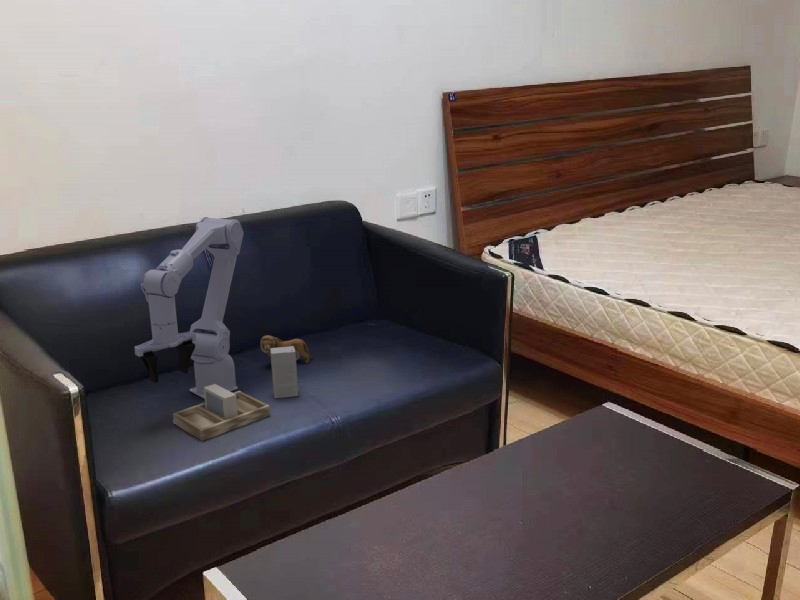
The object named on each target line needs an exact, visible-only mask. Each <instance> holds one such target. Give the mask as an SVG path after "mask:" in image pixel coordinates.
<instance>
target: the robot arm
mask: <svg viewBox="0 0 800 600" xmlns="http://www.w3.org/2000/svg"><path fill="white" fill-rule="evenodd" d="M244 233H245V232H244V230H243V227H242V224H241V222H240V221H239V220H238V219H236V218H233V219H227V218H217V217H216V218H215V217H208V216H205V217H202V218H201V219H200V221H198V222H197V223H196V225H195V232H194V233H193V234H192V236H191V237H190V239H188V241H187V242H186V244H184V245H183V247H182V249H172V250H171V251H170V253H169V255H168V256H167V257H166V258H165V259H164V260H163V261H162V262H161V263H159V265H158V266H157V267H156V268H155V269H150V270H147V271H146V272H145V273H144V274H143V276H142V277H141V284H140V289H141V291H142V292H143V294H144V296H145V301H146V302H147V303H148V311H149V317H150V328H151V335H152V339H151V340H148V341H145V342H144V343H141V344H139V345H135V346H133V347H134V355H135V356H136V357H138V358H139V359H140V360H141V361H142V363H143V365H144V367H145V369H146V371H147V373H148V376H149V378H150V381H151V382H153V383H154V384H156V383H159V374H158V360H159V357H158V356H156V355H155V353H154V352H157V351H161V350H164V349H168V348H174V347H176V350H177V355H178V362H179V363H178V364H179V370H180V372H181V373H183V374H185V375H186V374H188V373H189V366H190V361H191V360H193V366H194V369H193V370H194V379H195V387H192V388H189V392H191V393H192V394H195V395H196V396H198V397H200V398H202V399H203V400H205V397H204V387H207V386H210V385H213V384H216V385H218V386H220V387H222V388H224V389H226V390H228V391H230V392H233V391H235V390H236V391H237V390H238V386H237V383H236V369H235V368H236V367H235V362H234V360H233V358H232V356H231V355H230V354H229V352H230V348H231V344H230V338H231V337H230V335H231V331H230V329H229V328H228V327H227V326H226V325H225V323H224V316H225V313H226V308H227V303H228V299H229V296H230V295H229V294H230V288H231V285H232V280H233V276H234V271H235V266H236V263H237V256H238V255H239V254H240V252H241V247H242V244H243V238H244ZM205 250H207V251H208V253H211V254H212V255H213V257H214V259H213V263H212V269H211V273H210V276H209V277H210V278H209V281H208V282H209V283H208V287H207V291H206V295H205V299H204V305H203V308H202V314H201V317H200V318H199V319H198V320H197V321H195V322H193V323H192V324H191V325H190V329H189V331H186V332H181V333H180V332H179V329H178V328H179V327H178V318H177V308H176V297H175V295H176V294H177V293H178V291H179V288H180V285H181V283H182V279H184V277H185V276H186V275H187V274H188V273H189V272H190V271H191V270H192V268H193V267H194V259H195V258H197V257H199V255H200V254H201V253H202V252H203V251H205Z"/></svg>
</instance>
